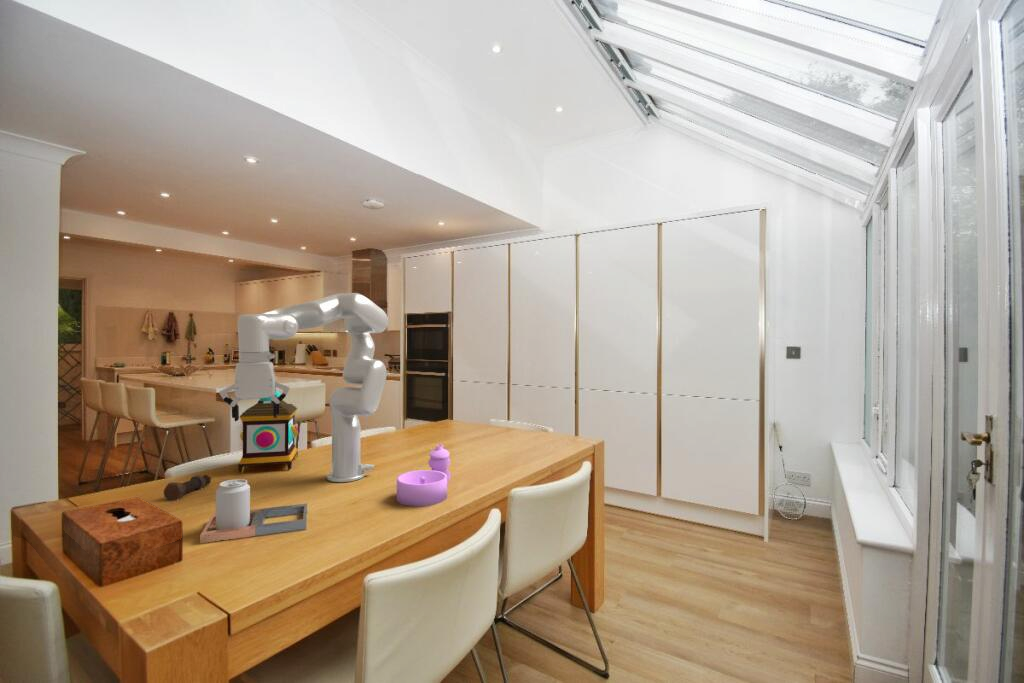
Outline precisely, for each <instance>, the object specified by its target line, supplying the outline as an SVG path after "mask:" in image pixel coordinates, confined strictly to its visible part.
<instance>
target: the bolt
mask: <svg viewBox="0 0 1024 683" xmlns="http://www.w3.org/2000/svg"><path fill="white" fill-rule="evenodd" d="M211 480H212V477H211V476H209V475H207V474H203V475H193V476H192V477H191V478H190V479H189V480H187V481H184V482H182V483H181V482H169V483H167V484H166V486H165V487H164V489H163V496H164V498H165V499H166V500H167V499H168V501H178V500H177V499H179V500H181V499H182V497H183V495H184V494H186V493H188V492H191V491H195V490H194V489H200V490H202V489H201V488H203V489H204V488H205V487H206V485H209V484H210V483H212V482H211ZM180 498H181V499H180Z"/></svg>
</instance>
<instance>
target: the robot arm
mask: <svg viewBox="0 0 1024 683" xmlns="http://www.w3.org/2000/svg"><path fill="white" fill-rule="evenodd" d="M343 319H344V320H343ZM339 320H343V323H344V326H345V328H346V331H347V332H348V336H349V338H350V348H349V352H348V354H347V357H346V361H345V364H344V366H343V371H342V379H343V381H344V382H345V383H346V384H348V385H352V386H361V387H352V386H351V387H349V386H342V387H338V388H335V389H334V390H333V391H332V392H331V393H330V396H329V399H328V406H329V412H330V416H331V471H330V472H329V473H328V474H326V480H328V481H330V482H334V483H348V482H349V483H350V482H353V481H357V480H358V481H359V480H361V479H362V478H364V477H365V474H366V472H367V471H374V470H375V465H374V464H370V463H367V464H363V463H362V461H361V432H362V431H361V430H362V428H361V421H360V419H359V417H370V416H372V415H374V413H375V412H376V411H377V409H378V407H379V404H380V401H381V398H382V396H383V395H382V394H383V393H384V392H383V391H384V389H385V388H384V387H385V386H386V385H385V384H386V380H387V376H388V375H387V367H386V365H385V363H384V362H383V361H381V360H379V359H374V354H375V348H376V346H375V341H374V340H373V338H372V336H371V334H380V333H381V334H382V333H383V332H384V331H385V330H387V328H388V327H389V318H388V314H387V313H386V312H385V311H384V310H383V309H382V308H381V307H380V306H378V305H377V304H376V303H374V302H373V301H372V300H370V299H369V298H368V297H366V296H365V295H363V294H361V293H359V292H351V293H350V292H347V293H346V292H345V293H335V294H332V295H327V296H325V297H322V298H321V297H320V298H318V299H315V300H311V301H306V302H303V303H302V302H301V303H298V304H294V305H289V306H286V307H280V308H276V309H275V308H274V309H273V310H269V311H265V312H261V313H259V314H257V313H256V314H241V315H239V317H238V318H237V333H238V334H237V335H238V337H237V340H238V362H237V363H236V364H235V365H236V366H235V371H234V381H233V382H234V384H231V385H230V386H227V387H225V388H224V389H222V390H220V391H219V395H220V397H221V398H222V399H223V402H225V403H226V404H227V405H228V406H229V407H230V408H231V418H232V419H234V422H237V421H239V420H240V408H239V407H240V405H238V403H239V402H240V401H242V400H243V401H245V400H257V399H258V400H260V398H271V399H272V400H273V401H274V404H273V412H274V418H277V414H279V403H280V402H281V401H282V400H283V401H284V399H285V398H286V396H287V394H288V392H289V391H290V387H289V386H287V385H285V384H283V383H280V382H277V381H276V371H275V365H274V363H273V361H271V360H272V359H276V353H272V352H270V340H288V339H291V338H293V337H294V336H295V335H296V334H297V333H298V330H304V329H306V330H308V329H314V328H319V327H322V326H325V325H328V324H330V323H333V322H335V321H339ZM277 389H280V390H282V392H281V393H280V396H279V397H277V396H276V395H275V393H276V390H277ZM232 391H233V393H234V399H232V398H230V397H229V395H228V393H229V392H232Z"/></svg>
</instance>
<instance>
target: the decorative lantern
mask: <svg viewBox="0 0 1024 683" xmlns="http://www.w3.org/2000/svg"><path fill="white" fill-rule="evenodd" d="M275 395H276V396H277V397H279V396H280V395H281V393H280V391H278V390H277V389H276V393H275ZM273 404H274V401H273V400H272V399H271V398H260V399H258V401H257V403H256V404H254V405H252V406H250V407H248V408H247V409H246V410H245V411H243V412H242V413H241V414H239V420H240V421H241V423H242V432H240V436H239V437H240V440H241V441H242V456H241V458H240V460H239V463H238V464H237V466H238V468H237V470H238V473H239V474H243V473H244V471H245V470H244V469H245V467H246V466H247V467H248V466H249V467H251V466H263V465H278V464H280V465H281V464H284V465H286V468H287V470H288V471H290V469H292V468H293V467H292V464H293V461H294V460H297V459H298V454H299V451H298V449H297V447H296V445H295V438H296V437H298V435H299V429H298V427H297V425H295V418H296V417H295V416H296V413H297V411H298V407H297V406H295V405H294V404H292V403H287V402H286V401H285V400H284V399H283V400H282V401H281V402H280V403H279V414H277V418H274V412H273ZM296 458H297V459H296Z"/></svg>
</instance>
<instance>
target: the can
mask: <svg viewBox="0 0 1024 683" xmlns="http://www.w3.org/2000/svg"><path fill="white" fill-rule="evenodd" d="M218 486H219V487H218V488H217V489H216V491H215V514H216V524H215V530H222V529H230V528H238V527H245V526H250V524H251V522H250V521H251V520H250V510H251V486H250V484H249V483H248V480H247V479H243V478H240V479H239V478H238V479H228V480H225V481H222V482H220V483H219V485H218Z"/></svg>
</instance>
